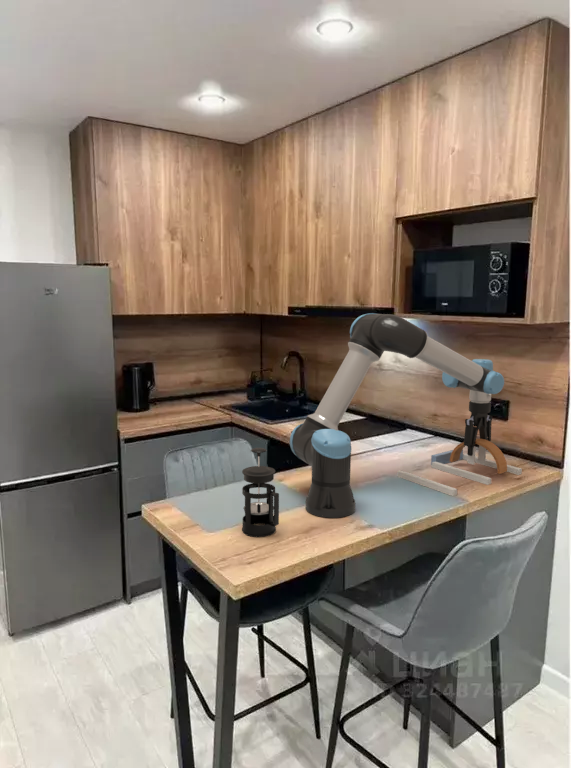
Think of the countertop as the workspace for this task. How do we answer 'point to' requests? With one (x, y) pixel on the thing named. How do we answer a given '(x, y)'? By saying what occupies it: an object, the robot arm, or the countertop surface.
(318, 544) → the countertop surface
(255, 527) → the french press
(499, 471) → the arch
